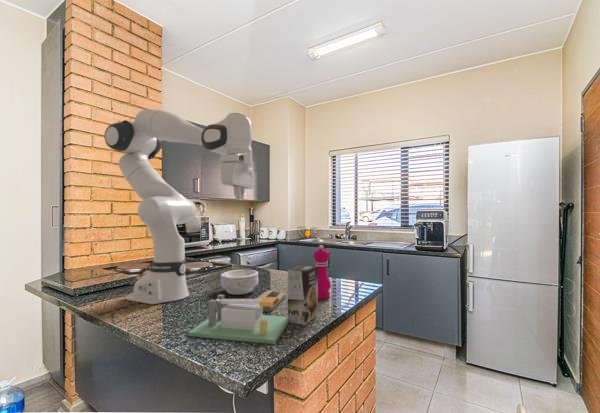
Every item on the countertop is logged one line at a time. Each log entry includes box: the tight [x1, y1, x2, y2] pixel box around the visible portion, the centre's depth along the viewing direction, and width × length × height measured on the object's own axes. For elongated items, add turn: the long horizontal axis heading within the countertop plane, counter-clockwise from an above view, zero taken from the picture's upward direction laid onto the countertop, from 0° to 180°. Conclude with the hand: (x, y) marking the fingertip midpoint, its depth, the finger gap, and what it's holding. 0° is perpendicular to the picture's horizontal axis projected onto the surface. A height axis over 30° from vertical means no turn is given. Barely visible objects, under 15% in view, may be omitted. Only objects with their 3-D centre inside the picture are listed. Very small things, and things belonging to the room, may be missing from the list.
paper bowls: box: [220, 269, 259, 296], centre depth 119 cm, size 15×15×8 cm
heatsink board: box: [187, 294, 290, 345], centre depth 82 cm, size 24×16×8 cm, turn 78°
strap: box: [215, 297, 279, 306], centre depth 82 cm, size 19×5×1 cm, turn 78°
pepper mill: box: [313, 244, 332, 300], centre depth 112 cm, size 7×7×20 cm
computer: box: [255, 289, 286, 313], centre depth 104 cm, size 16×8×3 cm, turn 166°
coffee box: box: [287, 264, 319, 326], centre depth 89 cm, size 9×6×16 cm
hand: (239, 200), depth 100 cm, fingers closed
